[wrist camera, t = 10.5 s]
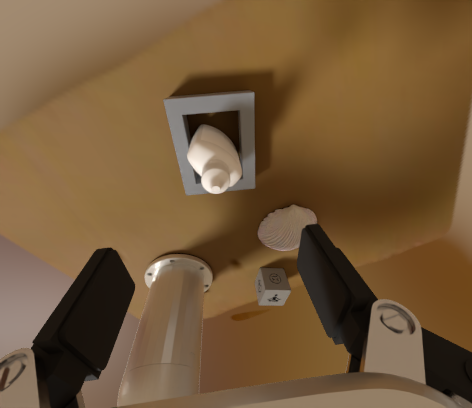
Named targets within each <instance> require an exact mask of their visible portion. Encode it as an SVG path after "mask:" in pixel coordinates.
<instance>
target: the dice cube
mask: <svg viewBox="0 0 472 408" xmlns="http://www.w3.org/2000/svg"><path fill="white" fill-rule="evenodd" d="M255 287H256V292H257V298H258V303H259V305H284V303H285V301H286V299H287V298H288V296H289V294H290V292H291V288H290V285H289V282H288V279H287V277H286V274H285V271H284V268H261V267H260V270H259V272H258V275H257V278H256V280H255Z"/></svg>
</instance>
